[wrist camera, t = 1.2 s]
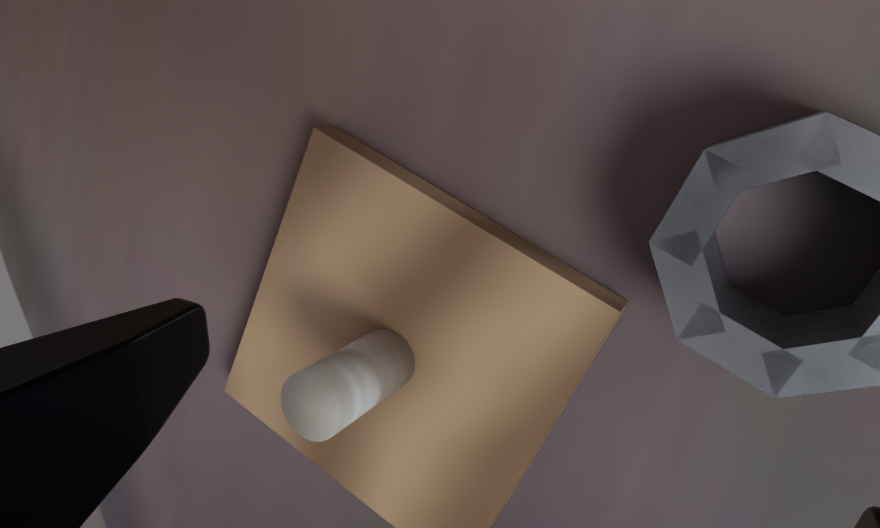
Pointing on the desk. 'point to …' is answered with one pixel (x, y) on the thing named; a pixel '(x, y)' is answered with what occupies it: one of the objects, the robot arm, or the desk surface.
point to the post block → (412, 339)
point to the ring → (742, 317)
